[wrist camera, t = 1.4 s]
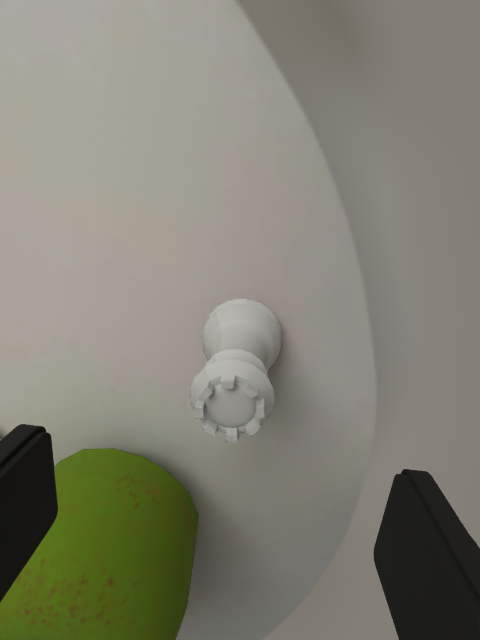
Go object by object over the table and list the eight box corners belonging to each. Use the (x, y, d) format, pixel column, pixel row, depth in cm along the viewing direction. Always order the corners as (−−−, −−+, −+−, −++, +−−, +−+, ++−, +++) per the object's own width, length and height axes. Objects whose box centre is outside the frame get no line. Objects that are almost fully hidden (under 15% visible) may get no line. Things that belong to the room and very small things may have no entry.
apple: (219, 450, 22) (183, 657, 12) (191, 562, 26) (143, 798, 16) (55, 411, 22) (-124, 587, 12) (48, 529, 26) (-95, 745, 15)
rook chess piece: (189, 325, 20) (142, 399, 12) (250, 280, 19) (241, 330, 11) (235, 381, 21) (219, 482, 13) (296, 341, 20) (317, 425, 12)
